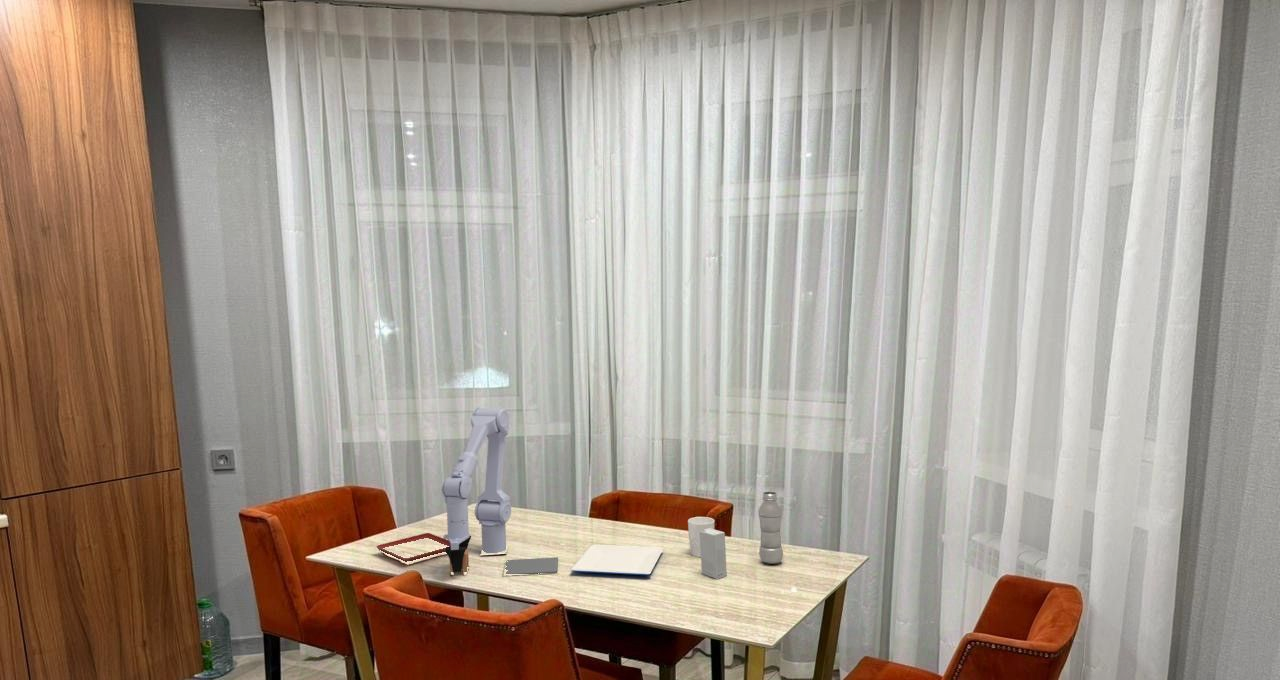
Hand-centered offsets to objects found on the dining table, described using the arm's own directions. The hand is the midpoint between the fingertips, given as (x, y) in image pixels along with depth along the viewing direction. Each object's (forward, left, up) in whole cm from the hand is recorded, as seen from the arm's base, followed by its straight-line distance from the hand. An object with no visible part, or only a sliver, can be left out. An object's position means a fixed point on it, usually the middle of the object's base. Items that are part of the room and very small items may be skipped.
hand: (459, 567), depth 211 cm
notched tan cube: (0, 0, -2) cm, 2 cm away
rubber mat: (-1, +20, -2) cm, 20 cm away
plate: (0, +45, -2) cm, 45 cm away
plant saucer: (-19, -15, -2) cm, 25 cm away
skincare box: (+13, +70, -2) cm, 71 cm away
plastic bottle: (+6, +88, -2) cm, 88 cm away
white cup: (-5, +70, -2) cm, 70 cm away
